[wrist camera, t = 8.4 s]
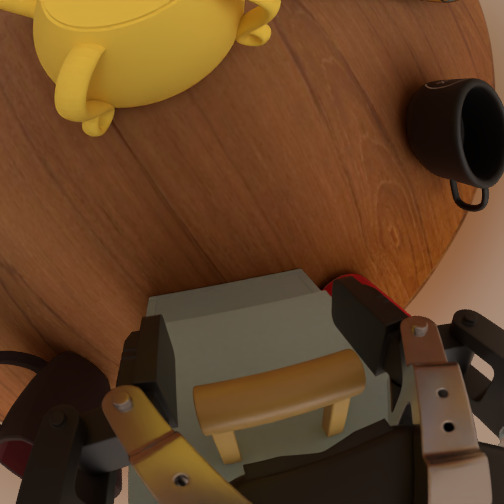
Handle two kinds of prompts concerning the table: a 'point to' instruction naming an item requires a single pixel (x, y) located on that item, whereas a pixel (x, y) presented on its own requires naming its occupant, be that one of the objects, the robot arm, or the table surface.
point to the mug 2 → (459, 134)
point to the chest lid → (267, 385)
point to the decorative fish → (444, 0)
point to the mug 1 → (48, 402)
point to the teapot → (134, 48)
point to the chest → (231, 296)
